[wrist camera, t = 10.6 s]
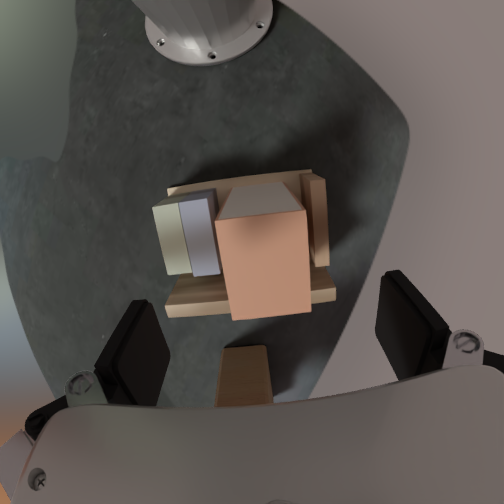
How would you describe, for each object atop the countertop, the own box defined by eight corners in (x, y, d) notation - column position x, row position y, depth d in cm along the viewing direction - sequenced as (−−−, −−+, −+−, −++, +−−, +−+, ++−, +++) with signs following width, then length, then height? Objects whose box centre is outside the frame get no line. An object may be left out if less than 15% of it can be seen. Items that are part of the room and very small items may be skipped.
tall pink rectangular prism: (231, 187, 27) (214, 220, 16) (283, 181, 26) (305, 209, 15) (240, 251, 29) (232, 320, 18) (289, 245, 29) (311, 311, 18)
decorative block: (273, 398, 38) (280, 522, 19) (234, 400, 38) (227, 523, 20) (267, 342, 34) (275, 496, 15) (221, 345, 34) (201, 496, 16)
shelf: (168, 188, 27) (138, 205, 20) (310, 169, 26) (332, 179, 19) (187, 276, 31) (168, 317, 23) (317, 261, 30) (335, 300, 23)
